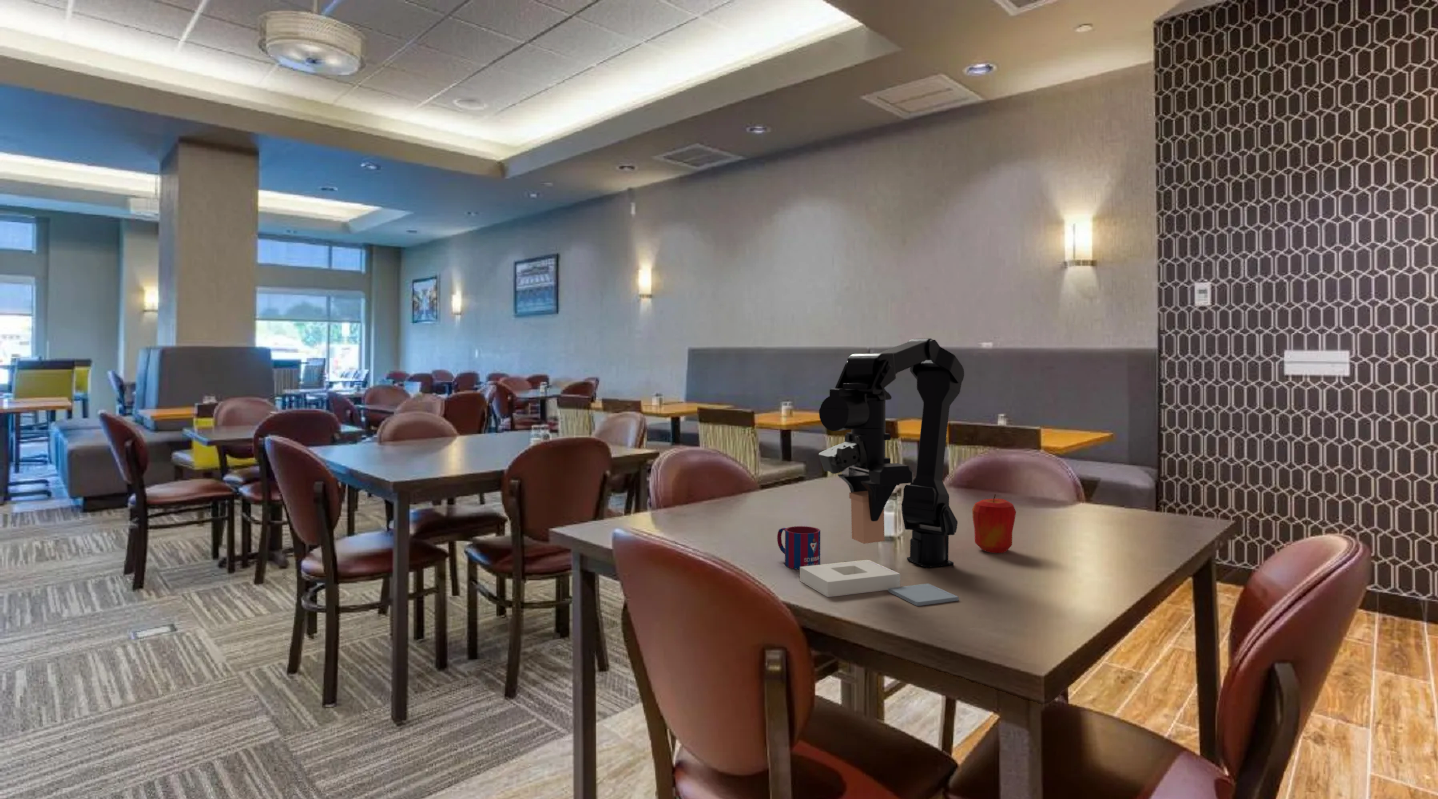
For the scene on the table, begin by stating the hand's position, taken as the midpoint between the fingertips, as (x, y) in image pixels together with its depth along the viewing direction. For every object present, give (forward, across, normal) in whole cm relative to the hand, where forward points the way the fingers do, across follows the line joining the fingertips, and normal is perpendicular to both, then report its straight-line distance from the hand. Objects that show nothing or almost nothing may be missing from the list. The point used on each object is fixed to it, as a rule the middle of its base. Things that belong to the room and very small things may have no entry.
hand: (867, 518), depth 126 cm
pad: (+12, +7, +6) cm, 15 cm away
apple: (+12, -14, +38) cm, 42 cm away
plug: (+4, 0, 0) cm, 4 cm away
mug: (+12, -18, -4) cm, 23 cm away
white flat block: (+12, -2, -2) cm, 12 cm away
